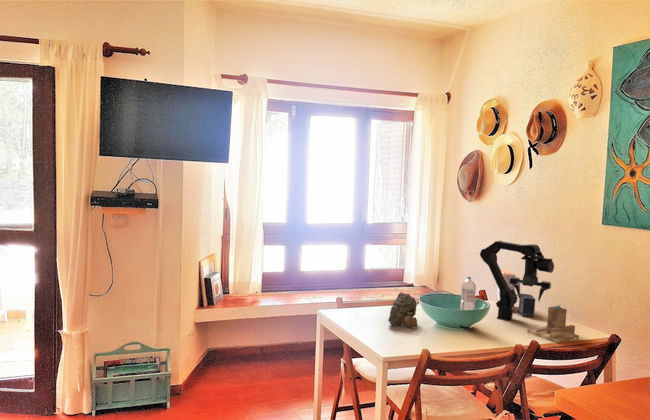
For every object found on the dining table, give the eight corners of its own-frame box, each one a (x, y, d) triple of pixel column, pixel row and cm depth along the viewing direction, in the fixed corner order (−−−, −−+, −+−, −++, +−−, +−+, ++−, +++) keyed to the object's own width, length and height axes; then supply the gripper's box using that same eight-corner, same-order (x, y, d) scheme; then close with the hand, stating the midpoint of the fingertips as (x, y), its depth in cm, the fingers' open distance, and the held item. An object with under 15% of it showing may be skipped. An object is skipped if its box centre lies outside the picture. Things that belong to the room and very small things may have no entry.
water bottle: (473, 325, 229) (476, 276, 227) (473, 329, 222) (476, 278, 221) (459, 323, 231) (462, 274, 229) (458, 327, 224) (461, 277, 223)
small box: (534, 317, 246) (536, 298, 246) (522, 316, 248) (523, 297, 247) (530, 312, 257) (531, 294, 256) (517, 311, 258) (519, 293, 257)
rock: (391, 286, 233) (417, 286, 223) (403, 304, 240) (429, 304, 230) (379, 316, 222) (406, 317, 212) (392, 333, 229) (419, 336, 219)
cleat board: (527, 332, 221) (527, 321, 220) (549, 328, 228) (550, 317, 228) (555, 342, 207) (556, 331, 207) (578, 338, 214) (579, 327, 214)
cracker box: (496, 303, 273) (498, 269, 272) (506, 304, 273) (508, 269, 271) (502, 310, 259) (505, 273, 258) (513, 310, 259) (516, 274, 257)
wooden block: (546, 332, 217) (548, 304, 216) (554, 330, 220) (556, 303, 219) (557, 335, 212) (558, 307, 212) (564, 334, 215) (566, 306, 214)
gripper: (508, 269, 230) (506, 299, 231) (548, 274, 220) (546, 306, 221) (512, 266, 239) (510, 295, 240) (552, 270, 229) (550, 301, 230)
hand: (529, 299), depth 232 cm, fingers open, 9 cm apart
